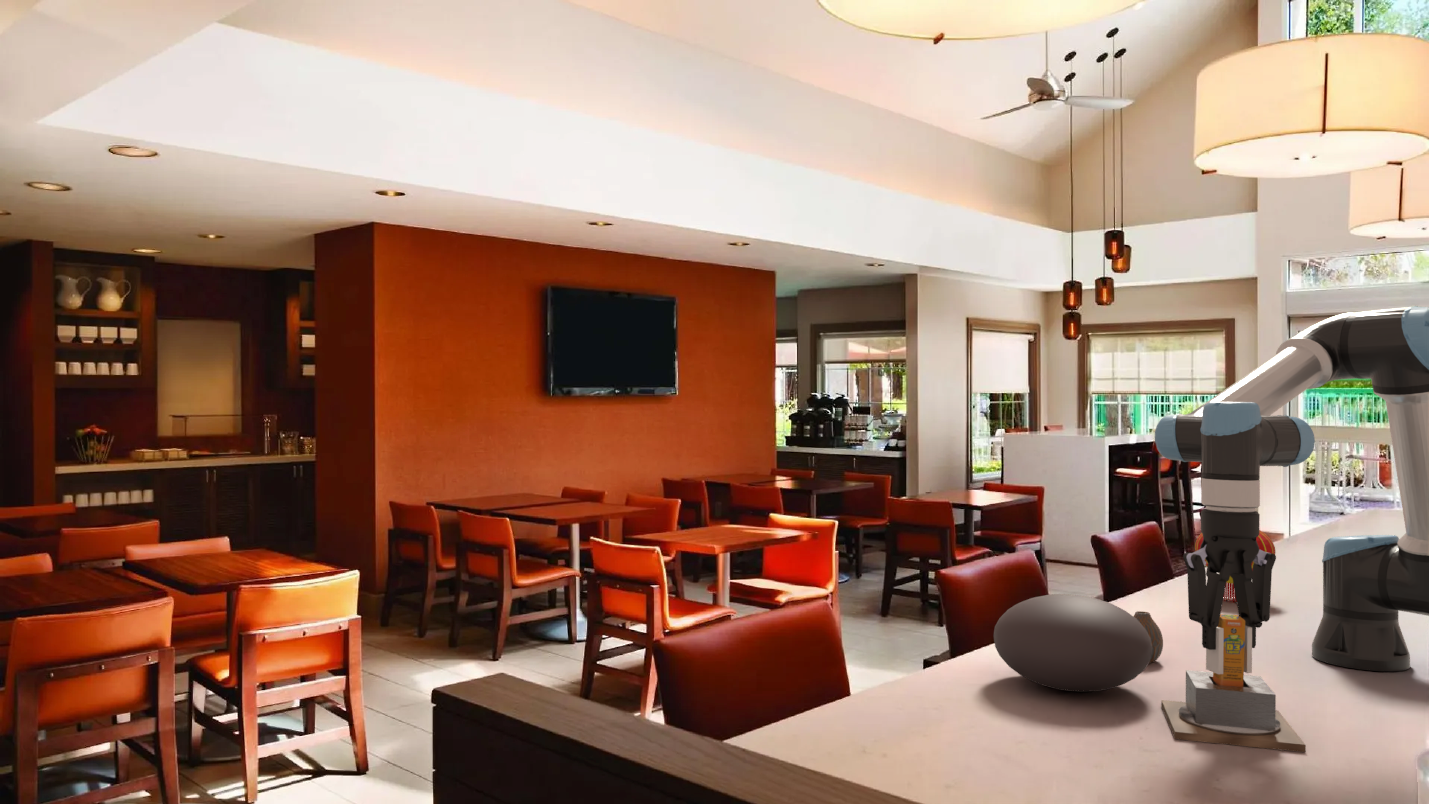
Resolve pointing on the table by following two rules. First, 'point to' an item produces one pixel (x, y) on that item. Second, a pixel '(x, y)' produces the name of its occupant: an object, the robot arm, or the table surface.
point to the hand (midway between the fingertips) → (1228, 670)
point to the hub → (1230, 705)
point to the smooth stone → (1072, 642)
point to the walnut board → (1186, 731)
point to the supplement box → (1232, 651)
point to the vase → (1151, 633)
